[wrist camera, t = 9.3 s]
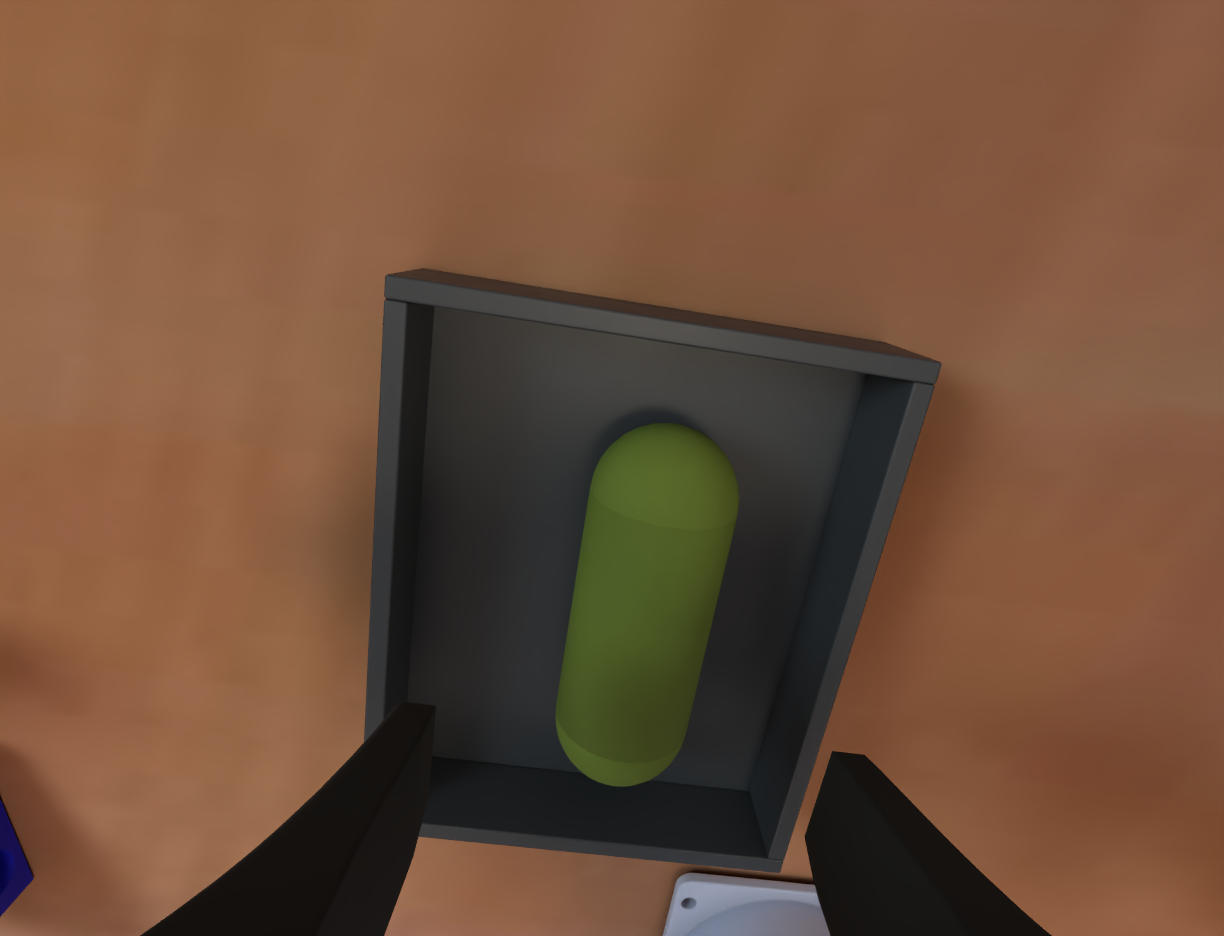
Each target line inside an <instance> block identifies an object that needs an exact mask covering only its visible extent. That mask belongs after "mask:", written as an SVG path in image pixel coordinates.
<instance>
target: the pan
mask: <svg viewBox="0 0 1224 936" xmlns="http://www.w3.org/2000/svg"><path fill="white" fill-rule="evenodd" d="M384 296H385V298H386V300H385V301H384V316H383V338H382V360H381V382H380V404H379V426H378V448H377V470H376V492H375V514H374V536H373V558H372V580H371V602H370V624H369V647H368V669H367V691H366V713H365V735H364V742H365V741H366V740H367V739H368V738H369V737H370V735H371V734H372V733H373V732H374V731H375V730H376V728H377V727H378V726H379V725H380V724H381V723H382V721H383V720H384V719H385V718H386V717H387V715H388V714H389V713H390V712H391V710H392V709H393V708H394V707H395V706H396V705H397V704H399V703H400V702H409V703H418V704H426V705H435V706H436V716H435V728H434V739H433V751H432V763H431V774H430V786H429V797H428V801H427V805H426V809H425V813H424V817H423V821H422V825H421V829H420V832H419V836H418V837H428V838H438V839H448V840H457V841H467V842H477V843H487V844H497V845H507V846H517V847H527V848H537V849H547V850H557V851H567V852H577V853H586V854H596V855H606V856H616V857H626V858H636V859H646V860H656V861H666V862H676V863H686V864H696V865H706V866H715V867H725V868H735V869H745V870H755V871H765V872H775V873H779V872H780V871H781V867H782V864H783V860H784V858H785V855H786V852H787V849H788V845H789V842H790V839H791V836H792V833H793V830H794V827H795V823H796V820H797V817H798V814H799V811H800V808H801V805H802V801H803V798H804V795H805V792H806V789H807V786H808V783H809V779H810V776H811V773H812V770H813V767H814V764H815V761H816V757H817V754H818V751H819V748H820V745H821V742H822V739H823V736H824V732H825V729H826V726H827V723H828V720H829V717H830V714H831V710H832V707H833V704H834V701H835V698H836V695H837V692H838V688H839V685H840V682H841V679H842V676H843V673H844V670H845V666H846V663H847V660H848V657H849V654H850V651H851V648H852V645H853V641H854V638H855V635H856V632H857V629H858V626H859V623H860V619H861V616H862V613H863V610H864V607H865V604H866V601H867V597H868V594H869V591H870V588H871V585H872V582H873V579H874V575H875V572H876V569H877V566H878V563H879V560H880V557H881V553H882V550H883V547H884V544H885V541H886V538H887V535H888V532H889V528H890V525H891V522H892V519H893V516H894V513H895V510H896V506H897V503H898V500H899V497H900V494H901V491H902V488H903V484H904V481H905V478H906V475H907V472H908V469H909V466H910V462H911V459H912V456H913V453H914V450H915V447H916V444H917V441H918V437H919V434H920V431H921V428H922V425H923V422H924V419H925V415H926V412H927V409H928V406H929V403H930V400H931V397H932V393H933V390H934V385H933V384H935V383H936V381H937V378H938V375H939V371H940V368H941V363H940V362H938V361H936V360H933V359H930V358H927V357H924V356H922V355H919V354H916V353H913V352H911V351H908V350H905V349H902V348H899V347H897V346H894V345H891V344H888V343H886V342H879V341H873V340H867V339H861V338H854V337H848V336H842V335H836V334H829V333H823V332H817V331H811V330H804V329H798V328H792V327H786V326H779V325H773V324H767V323H761V322H755V321H748V320H742V319H736V318H730V317H723V316H717V315H711V314H705V313H698V312H692V311H686V310H680V309H673V308H667V307H661V306H655V305H648V304H642V303H636V302H630V301H623V300H617V299H611V298H605V297H598V296H592V295H586V294H580V293H573V292H567V291H561V290H555V289H548V288H542V287H536V286H530V285H523V284H517V283H511V282H505V281H498V280H492V279H486V278H480V277H473V276H467V275H461V274H455V273H448V272H442V271H436V270H430V269H417V270H411V271H405V272H399V273H393V274H388V275H386V276H385V294H384ZM654 423H674V424H680V425H684V426H687V427H690V428H692V429H695V430H697V431H699V432H701V433H703V434H704V435H706V436H707V437H708V438H710V439H711V440H713V441H714V442H715V443H716V444H717V445H718V446H719V448H720V449H721V450H722V451H723V452H724V453H725V454H726V456H727V457H728V459H729V461H730V463H731V465H732V466H733V469H734V472H735V475H736V479H737V482H738V486H739V498H740V500H739V508H738V516H737V520H736V524H735V528H734V532H733V537H732V541H731V545H730V549H729V554H728V558H727V562H726V566H725V570H724V575H723V579H722V583H721V587H720V592H719V596H718V600H717V604H716V609H715V613H714V617H713V621H712V625H711V630H710V634H709V638H708V642H707V647H706V651H705V655H704V659H703V664H702V668H701V672H700V676H699V680H698V685H697V689H696V693H695V697H694V702H693V706H692V710H691V714H690V718H689V723H688V727H687V731H686V735H685V738H684V741H683V743H682V746H681V749H680V750H679V752H678V754H677V755H676V757H675V758H674V760H673V761H672V762H671V764H670V765H669V766H668V767H667V768H666V769H665V770H664V771H662V772H661V773H660V774H659V775H657V776H656V777H654V778H652V779H651V780H649V781H646V782H643V783H640V784H637V785H633V786H626V787H619V786H611V785H606V784H603V783H600V782H597V781H595V780H593V779H591V778H589V777H588V776H586V775H585V774H584V773H582V772H581V771H580V770H579V769H578V768H577V767H576V766H575V765H574V764H573V763H572V762H571V761H570V759H569V758H568V756H567V754H566V753H565V751H564V749H563V747H562V745H561V743H560V740H559V737H558V733H557V728H556V717H555V716H556V702H557V696H558V689H559V683H560V676H561V670H562V664H563V657H564V651H565V644H566V638H567V632H568V625H569V619H570V613H571V606H572V600H573V593H574V587H575V581H576V574H577V568H578V561H579V555H580V549H581V542H582V536H583V530H584V523H585V517H586V510H587V504H588V498H589V491H590V485H591V482H592V478H593V474H594V471H595V468H596V466H597V464H598V462H599V460H600V458H601V457H602V455H603V454H604V453H605V452H606V450H607V449H608V448H609V447H610V446H611V445H612V444H613V443H614V442H615V441H616V440H618V439H619V438H620V437H621V436H623V435H624V434H626V433H628V432H630V431H632V430H634V429H636V428H638V427H641V426H645V425H649V424H654Z"/></svg>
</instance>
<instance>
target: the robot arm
mask: <svg viewBox="0 0 1224 936" xmlns="http://www.w3.org/2000/svg"><path fill="white" fill-rule="evenodd" d="M435 716H436V706H435V705H426V704H418V703H409V702H400V703H399V704H397V705H396V706H395V707H394V708H393V709H392V710H391V712H390V713H389V714H388V715H387V717H386V718H385V719H384V720H383V721H382V723H381V724H380V725H379V726H378V727H377V728H376V730H375V731H374V732H373V733H372V734H371V735H370V737H369V738H368V739H367V740H366V741H365V742H364V743H363V744H362V745H361V747H360V748H359V749H358V750H357V751H356V752H355V753H354V754H353V755H352V757H351V758H350V759H349V760H348V761H347V762H346V763H345V764H344V765H343V766H342V767H341V768H340V769H339V770H338V771H337V772H336V773H335V774H334V775H333V776H332V777H331V778H330V779H329V780H328V781H327V782H326V783H325V784H324V786H323V787H322V788H321V789H320V790H319V791H317V792H316V793H315V794H314V795H313V796H312V797H311V798H310V799H309V800H308V801H307V802H306V803H305V804H304V805H303V806H302V807H301V808H300V809H298V810H297V811H296V812H295V813H294V814H293V815H292V816H291V817H290V818H289V819H288V820H287V821H286V822H285V823H283V824H282V825H281V826H280V827H279V828H278V829H277V830H276V831H275V832H274V833H272V834H271V835H270V836H269V837H268V838H267V839H266V840H264V841H263V842H262V843H261V844H260V845H259V846H258V847H256V848H255V849H254V850H253V851H252V852H250V853H249V854H248V855H247V856H246V857H244V858H243V859H242V860H241V861H239V862H238V863H237V864H236V865H235V866H233V867H232V868H231V869H230V870H228V871H227V872H226V873H225V874H223V875H222V876H221V877H220V878H218V879H217V880H216V881H215V882H213V883H212V884H211V885H209V886H208V887H207V888H205V889H204V890H202V891H201V892H200V893H198V894H197V895H196V896H194V897H193V898H192V899H190V900H189V901H188V902H186V903H185V904H184V905H182V906H181V907H180V908H178V909H177V910H176V911H174V912H173V913H172V914H170V915H169V916H167V917H166V918H165V919H163V920H162V921H160V922H159V923H158V924H156V925H155V926H153V927H152V928H150V929H149V930H148V931H146V932H145V933H143V934H142V935H140V936H384V934H385V932H386V929H387V926H388V924H389V921H390V918H391V916H392V913H393V910H394V907H395V905H396V902H397V899H398V897H399V894H400V891H401V888H402V886H403V883H404V880H405V878H406V875H407V872H408V869H409V867H410V864H411V861H412V858H413V855H414V851H415V847H416V844H417V840H418V836H419V832H420V829H421V825H422V821H423V817H424V813H425V809H426V805H427V801H428V797H429V786H430V774H431V763H432V751H433V739H434V728H435ZM805 841H806V846H807V851H808V856H809V861H810V866H811V871H812V875H813V879H814V884H815V885H812V884H802V883H792V882H782V881H772V880H762V879H752V878H742V877H732V876H722V875H712V874H702V873H686V874H683V875H682V876H680V877H679V878H678V880H677V881H676V885H675V889H674V892H673V896H672V900H671V904H670V908H669V912H668V916H667V920H666V924H665V928H664V932H663V936H1051V935H1050V934H1049V933H1048V932H1046V931H1045V930H1044V929H1043V928H1042V927H1041V926H1039V925H1038V924H1037V923H1036V922H1035V921H1034V920H1033V919H1031V918H1030V917H1029V916H1028V915H1027V914H1026V913H1025V912H1023V911H1022V910H1021V909H1020V908H1019V907H1018V906H1017V905H1016V904H1015V903H1014V902H1013V901H1011V900H1010V899H1009V898H1008V897H1007V896H1006V895H1005V894H1004V893H1003V892H1002V891H1001V890H1000V889H998V888H997V887H996V886H995V885H994V884H993V883H992V882H991V881H990V880H989V879H988V878H987V877H986V876H985V875H983V874H982V873H981V872H980V871H979V870H978V869H977V868H976V867H975V866H974V865H973V864H972V863H971V862H970V861H969V860H968V859H967V858H966V857H965V856H964V855H963V854H962V853H961V852H960V851H959V850H958V849H957V848H956V847H955V846H954V845H953V844H952V843H951V842H950V841H949V840H948V839H947V838H946V837H945V836H944V835H943V834H942V833H941V832H940V831H939V830H938V829H937V828H936V827H935V826H934V825H933V824H932V823H931V822H930V821H929V820H928V819H927V818H926V817H925V816H924V815H923V814H922V813H921V812H920V811H919V810H918V809H917V808H916V806H915V805H914V804H913V803H912V802H911V801H910V800H909V799H908V798H907V797H906V796H905V795H904V794H903V793H902V792H901V791H900V790H899V789H898V788H897V787H896V786H895V785H894V784H893V783H892V782H891V781H890V780H889V779H888V778H887V777H886V776H885V775H884V773H883V772H882V771H881V770H880V769H879V768H878V767H877V766H876V765H875V764H873V763H872V762H871V761H870V760H869V759H868V758H867V757H866V756H865V755H861V754H852V753H844V752H835V751H832V753H831V757H830V760H829V763H828V766H827V769H826V772H825V775H824V778H823V781H822V784H821V788H820V791H819V794H818V797H817V800H816V803H815V806H814V809H813V812H812V816H811V819H810V822H809V825H808V828H807V831H806V834H805Z"/></svg>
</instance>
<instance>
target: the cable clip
mask: <svg viewBox="0 0 1224 936" xmlns="http://www.w3.org/2000/svg"><path fill="white" fill-rule="evenodd" d="M33 879H34V878H33V876H32V874H31V871H30V869H29V866H28V864H27V862H26V859H25V857H24V854H23V852H22V850H21V847H20V845H19V843H18V840H17V838H16V835H15V833H14V831H13V828H12V826H11V823H10V821H9V819H8V816H7V814H6V811H5V809H4V807H3V804H2V802H1V800H0V916H1V915H2V914H3V913H4V912H5V911H6V909H7V908H8V907H9V906H10V905H11V904H12V903H13V901H14V900H15V899H16V898H17V897H18V896H19V895H20V894H21V892H22V891H23V890H24V889H25V888H26V887H27V886H28V884H29V883H30V882H31V881H32V880H33Z"/></svg>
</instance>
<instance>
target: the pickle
mask: <svg viewBox="0 0 1224 936" xmlns="http://www.w3.org/2000/svg"><path fill="white" fill-rule="evenodd" d="M739 500H740V498H739V486H738V482H737V479H736V475H735V472H734V469H733V466H732V465H731V463H730V461H729V459H728V457H727V456H726V454H725V453H724V452H723V451H722V450H721V449H720V448H719V446H718V445H717V444H716V443H715V442H714V441H713V440H711V439H710V438H708V437H707V436H706V435H704V434H703V433H701V432H699V431H697V430H695V429H692V428H690V427H687V426H684V425H680V424H674V423H654V424H649V425H645V426H641V427H638V428H636V429H634V430H632V431H630V432H628V433H626V434H624V435H623V436H621V437H620V438H619V439H618V440H616V441H615V442H614V443H613V444H612V445H611V446H610V447H609V448H608V449H607V450H606V452H605V453H604V454H603V455H602V457H601V458H600V460H599V462H598V464H597V466H596V468H595V471H594V474H593V478H592V482H591V485H590V491H589V498H588V504H587V510H586V517H585V523H584V530H583V536H582V542H581V549H580V555H579V561H578V568H577V574H576V581H575V587H574V593H573V600H572V606H571V613H570V619H569V625H568V632H567V638H566V644H565V651H564V657H563V664H562V670H561V676H560V683H559V689H558V696H557V702H556V716H555V717H556V728H557V733H558V737H559V740H560V743H561V745H562V747H563V749H564V751H565V753H566V754H567V756H568V758H569V759H570V761H571V762H572V763H573V764H574V765H575V766H576V767H577V768H578V769H579V770H580V771H581V772H582V773H584V774H585V775H586V776H588V777H589V778H591V779H593V780H595V781H597V782H600V783H603V784H606V785H611V786H619V787H626V786H633V785H637V784H640V783H643V782H646V781H649V780H651V779H652V778H654V777H656V776H657V775H659V774H660V773H661V772H662V771H664V770H665V769H666V768H667V767H668V766H669V765H670V764H671V762H672V761H673V760H674V758H675V757H676V755H677V754H678V752H679V750H680V749H681V746H682V743H683V741H684V738H685V735H686V731H687V727H688V723H689V718H690V714H691V710H692V706H693V702H694V697H695V693H696V689H697V685H698V680H699V676H700V672H701V668H702V664H703V659H704V655H705V651H706V647H707V642H708V638H709V634H710V630H711V625H712V621H713V617H714V613H715V609H716V604H717V600H718V596H719V592H720V587H721V583H722V579H723V575H724V570H725V566H726V562H727V558H728V554H729V549H730V545H731V541H732V537H733V532H734V528H735V524H736V520H737V516H738V508H739Z"/></svg>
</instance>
